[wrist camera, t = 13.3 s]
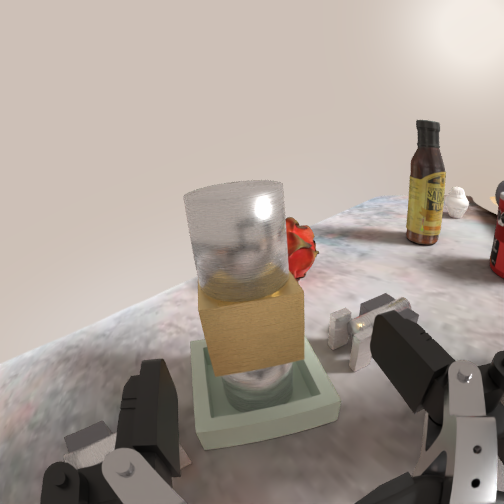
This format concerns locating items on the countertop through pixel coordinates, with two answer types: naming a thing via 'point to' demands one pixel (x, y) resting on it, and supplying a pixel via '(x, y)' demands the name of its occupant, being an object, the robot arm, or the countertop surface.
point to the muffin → (456, 202)
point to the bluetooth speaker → (499, 191)
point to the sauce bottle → (426, 186)
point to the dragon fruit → (300, 248)
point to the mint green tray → (264, 420)
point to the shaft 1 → (98, 446)
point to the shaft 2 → (364, 326)
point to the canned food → (498, 241)
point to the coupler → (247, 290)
